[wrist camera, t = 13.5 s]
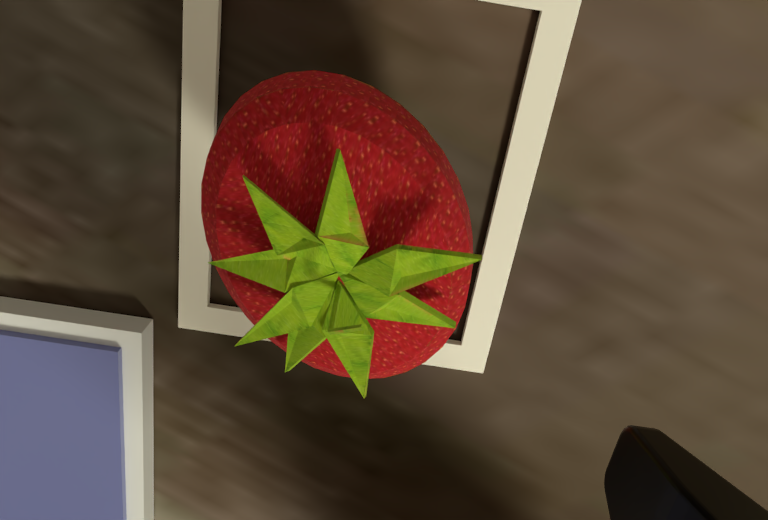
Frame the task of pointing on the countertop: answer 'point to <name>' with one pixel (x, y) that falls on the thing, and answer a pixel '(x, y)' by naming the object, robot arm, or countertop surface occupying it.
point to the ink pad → (75, 413)
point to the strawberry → (337, 226)
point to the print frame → (509, 207)
